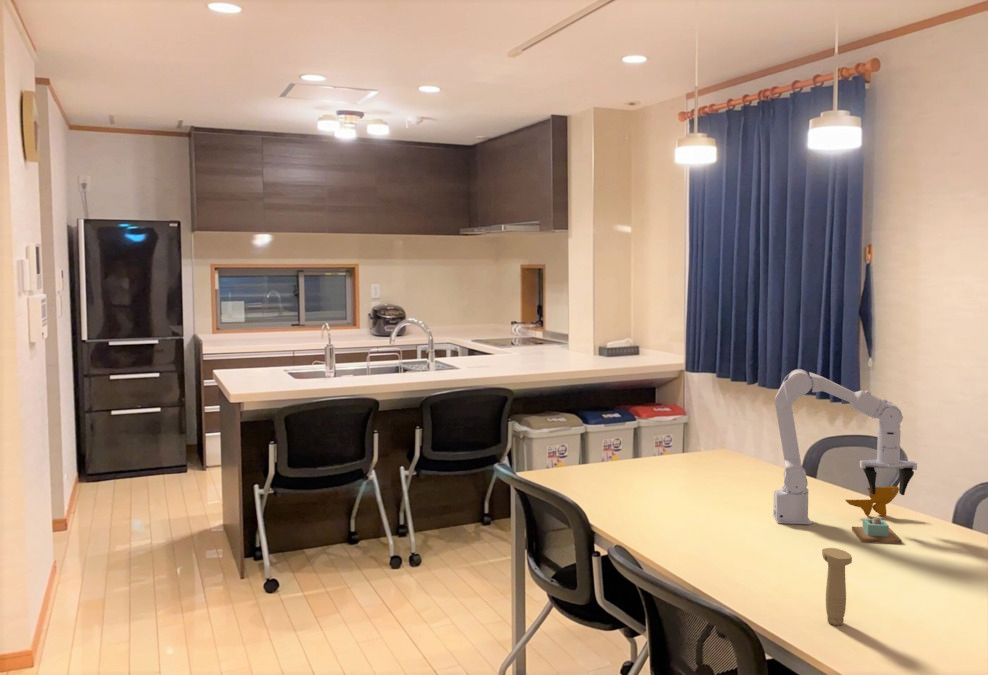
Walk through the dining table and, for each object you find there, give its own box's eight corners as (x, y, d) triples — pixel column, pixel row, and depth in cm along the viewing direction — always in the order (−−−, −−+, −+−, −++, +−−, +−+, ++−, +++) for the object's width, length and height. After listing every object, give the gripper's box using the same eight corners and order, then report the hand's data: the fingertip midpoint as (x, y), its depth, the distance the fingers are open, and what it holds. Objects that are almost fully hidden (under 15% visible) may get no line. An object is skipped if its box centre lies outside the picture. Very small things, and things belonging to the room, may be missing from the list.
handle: (834, 630, 165) (835, 559, 163) (815, 617, 171) (817, 549, 170) (855, 628, 165) (857, 557, 164) (836, 615, 172) (838, 547, 170)
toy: (909, 506, 236) (895, 476, 236) (859, 529, 237) (846, 499, 236) (904, 503, 239) (890, 474, 238) (856, 526, 240) (842, 497, 239)
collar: (867, 535, 218) (868, 524, 218) (862, 529, 223) (862, 519, 223) (888, 536, 217) (888, 525, 217) (882, 530, 222) (882, 519, 222)
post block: (861, 542, 216) (862, 523, 216) (851, 529, 226) (852, 512, 225) (901, 543, 214) (902, 525, 214) (889, 531, 224) (890, 513, 224)
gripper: (865, 448, 222) (864, 496, 223) (921, 450, 220) (919, 498, 221) (858, 443, 229) (857, 489, 230) (912, 444, 227) (911, 491, 228)
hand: (887, 493), depth 226 cm, fingers open, 7 cm apart
